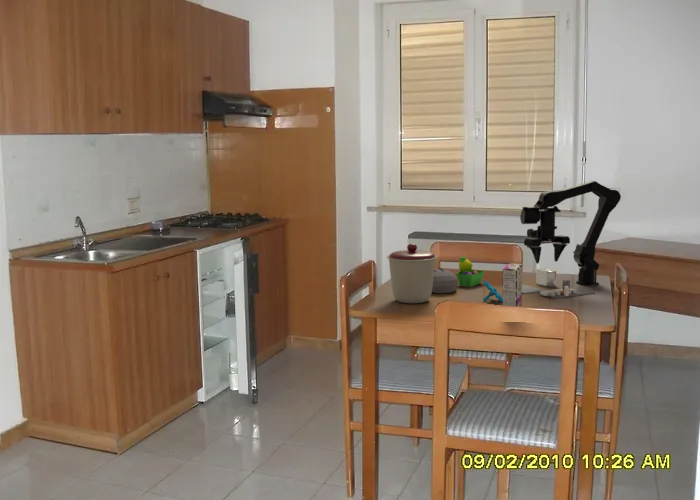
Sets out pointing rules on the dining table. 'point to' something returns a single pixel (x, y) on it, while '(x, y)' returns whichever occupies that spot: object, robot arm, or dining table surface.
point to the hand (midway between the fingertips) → (546, 262)
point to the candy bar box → (512, 285)
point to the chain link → (546, 277)
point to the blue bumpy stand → (492, 292)
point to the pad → (530, 289)
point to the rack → (558, 290)
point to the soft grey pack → (444, 281)
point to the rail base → (566, 293)
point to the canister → (412, 274)
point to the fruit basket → (468, 273)
